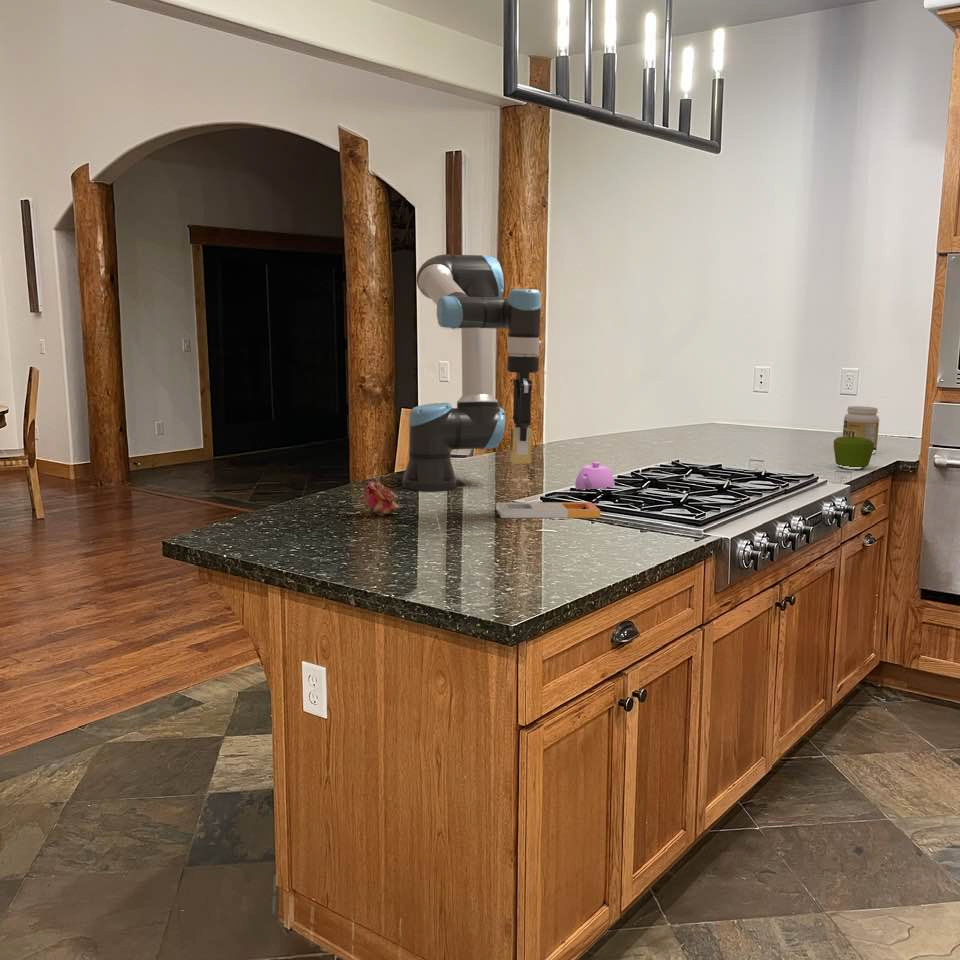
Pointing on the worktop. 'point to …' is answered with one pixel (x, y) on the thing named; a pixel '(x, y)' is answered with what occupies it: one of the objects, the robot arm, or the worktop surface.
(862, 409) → the supplement tub
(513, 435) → the brass nut block
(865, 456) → the apple
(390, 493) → the flower
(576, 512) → the rail
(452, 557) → the worktop surface
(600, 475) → the teapot
